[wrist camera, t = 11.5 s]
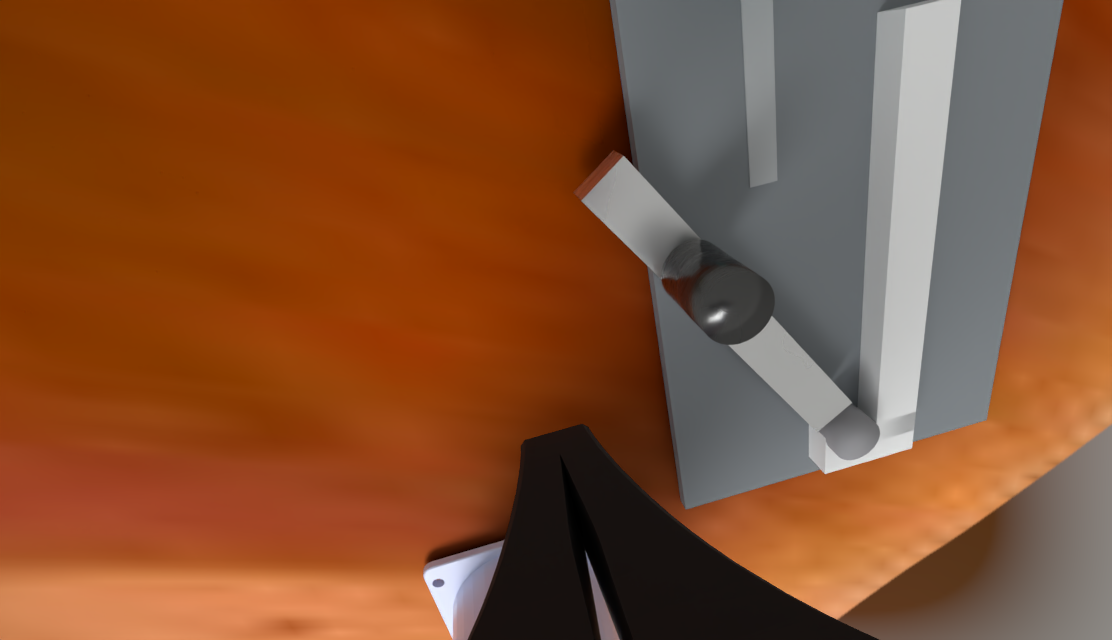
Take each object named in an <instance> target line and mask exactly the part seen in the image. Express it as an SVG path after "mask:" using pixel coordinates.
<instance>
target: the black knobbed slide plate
mask: <svg viewBox="0 0 1112 640" xmlns="http://www.w3.org/2000/svg"><path fill="white" fill-rule="evenodd" d="M573 193H574V194H575V195H576V196H577V197H578V198H579V199H580V200H581V201H582V202H583V203H584V204H585V205H586V206H587V207H588V208H589V209H590V210H591V211H592V212H593V213H594V214H595V215H596V216H597V217H598V218H599V219H600V220H601V221H602V222H603V223H604V224H605V225H606V226H607V227H608V228H609V229H610V230H612V231H613V232H614V233H615V234H616V235H617V236H618V237H619V238H620V239H621V240H622V241H623V242H624V243H625V244H626V245H627V246H628V247H629V248H630V249H631V250H632V251H633V252H634V253H635V254H636V255H637V256H638V257H639V258H640V259H641V260H642V261H643V262H644V263H645V264H646V265H647V266H648V267H649V268H650V269H651V270H652V271H653V272H654V273H655V274H656V275H657V276H658V277H659V278H660V279H661V281H662V285H663V287H664V290H665V291H666V293H667V294H668V295H669V296H670V297H671V298H672V299H673V300H674V301H675V302H676V303H677V304H678V305H679V306H680V307H681V308H682V310H683V311H684V312H685V313H686V314H687V315H688V316H689V317H690V318H691V319H692V320H693V321H694V322H695V323H696V324H697V325H698V326H699V327H700V328H701V329H702V330H703V331H704V333H705V334H706V335H707V336H708V337H709V338H711V339H712V340H713V341H715V342H717V343H720V344H724V345H729V346H730V347H731V348H732V349H733V350H734V351H735V352H736V353H737V354H738V355H739V356H740V357H741V358H742V359H743V360H744V361H745V362H746V363H747V364H748V365H749V366H750V367H751V368H752V369H753V370H754V371H755V372H756V373H757V374H758V375H759V376H760V377H761V378H762V379H763V380H764V381H765V382H766V383H767V384H768V385H769V386H771V387H772V388H773V389H774V390H775V391H776V392H777V393H778V394H779V395H780V396H781V397H782V398H783V399H784V400H785V401H786V402H787V403H788V404H789V405H790V406H791V407H792V408H793V409H794V410H795V411H796V412H797V413H798V414H799V415H800V416H801V417H802V418H803V419H804V420H805V421H806V422H807V423H808V424H809V425H810V426H811V427H812V428H813V429H814V430H815V431H816V432H818V431H819V430H821V429H822V428H823V427H824V426H825V425H826V424H828V423H829V422H830V421H831V420H832V419H834V418H835V417H836V416H837V415H838V414H839V413H841V412H842V411H843V410H844V409H845V408H847V407H848V406H849V405H850V404H851V403H852V402H851V401H850V400H849V398H848V397H847V396H846V395H845V394H844V393H843V392H842V391H841V390H840V389H839V388H838V387H837V386H836V384H835V383H834V382H833V381H832V380H831V379H830V378H829V377H828V376H827V375H826V374H825V373H824V371H823V370H822V369H821V368H820V367H819V366H818V365H817V364H816V363H815V362H814V361H813V360H812V359H811V357H810V356H809V355H808V354H807V353H806V352H805V351H804V350H803V349H802V348H801V347H800V346H799V344H798V343H797V342H796V341H795V340H794V339H793V338H792V337H791V336H790V335H789V334H788V333H787V332H786V330H785V329H784V328H783V327H782V326H781V325H780V324H779V323H778V322H777V321H776V320H775V319H774V318H773V316H772V314H773V311H774V306H775V296H774V292H773V289H772V287H771V285H770V284H769V283H768V281H767V280H765V279H764V278H763V277H761V276H760V275H758V274H757V273H755V272H754V271H752V270H751V269H749V268H748V267H746V266H745V265H743V264H742V263H740V262H739V261H737V260H736V259H735V258H733V257H732V256H730V255H729V254H727V253H726V252H724V251H723V250H721V249H720V248H718V247H717V246H715V245H714V244H712V243H710V242H708V241H705V240H701V239H700V238H699V237H698V235H697V234H696V233H695V232H694V231H693V230H692V229H691V228H690V227H689V226H688V225H687V224H686V222H685V221H684V220H683V219H682V218H681V217H680V216H679V215H678V214H677V213H676V212H675V211H674V210H673V208H672V207H671V206H670V205H669V204H668V203H667V202H666V201H665V200H664V199H663V198H662V197H661V195H660V194H659V193H658V192H657V191H656V190H655V189H654V188H653V187H652V186H651V185H650V184H649V183H648V181H647V180H646V179H645V178H644V177H643V176H642V175H641V174H640V173H639V172H638V171H637V170H636V168H635V167H634V166H633V165H632V164H631V163H630V162H629V161H628V160H627V159H626V158H625V157H624V156H623V155H621V154H619V153H617V152H615V151H612V152H611V153H610V154H609V155H608V156H607V157H606V158H605V159H604V160H603V161H602V162H601V164H600V165H599V166H598V167H597V168H596V169H595V170H594V171H593V172H592V173H591V174H590V175H589V176H588V177H587V179H586V180H585V181H584V182H583V183H582V184H581V185H580V186H579V187H578V188H577V189H576V190H575V191H574V192H573Z"/></svg>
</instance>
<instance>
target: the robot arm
mask: <svg viewBox="0 0 1112 640" xmlns="http://www.w3.org/2000/svg"><path fill="white" fill-rule="evenodd" d="M423 576H424V579H425V581H426V584H427V586H428V588H429V590H430V592H431V594H432V596H433V598H434V601H435V603H436V605H437V607H438V609H439V611H440V613H441V615H442V618H443V620H444V622H445V624H446V626H447V628H448V630H449V632H450V635H451V637H452V639H453V640H879V639H877V638H874V637H872V636H870V635H868V634H866V633H863V632H861V631H859V630H857V629H854V628H853V627H851V626H848V625H847V624H844V623H842V622H840V621H838V620H836V619H834V618H832V617H830V616H828V615H826V614H824V613H822V612H820V611H819V610H817V609H815V608H813V607H811V606H809V605H807V604H806V603H804V602H802V601H800V600H798V599H796V598H794V597H792V596H791V595H789V594H787V593H785V592H784V591H782V590H780V589H779V588H777V587H775V586H774V585H772V584H770V583H769V582H767V581H765V580H764V579H762V578H760V577H759V576H757V575H755V574H754V573H752V572H750V571H749V570H747V569H745V568H744V567H742V566H740V565H739V564H737V563H736V562H734V561H733V560H731V559H730V558H728V557H727V556H725V555H724V554H722V553H721V552H720V551H718V550H717V549H715V548H714V547H712V546H711V545H709V544H708V543H707V542H705V541H704V540H703V539H701V538H700V537H699V536H697V535H696V534H694V533H693V532H692V531H690V530H689V529H688V528H687V527H685V526H684V525H683V524H682V523H680V522H679V521H678V520H677V519H675V518H674V517H673V516H672V515H671V514H669V513H668V512H667V511H666V510H665V509H664V508H662V507H661V506H660V505H659V504H658V503H657V502H656V501H654V500H653V499H652V498H651V497H650V496H649V495H648V494H647V493H646V492H645V491H644V490H642V489H641V488H640V487H639V486H638V485H637V484H636V483H635V482H634V481H633V480H632V479H631V478H630V477H629V476H628V475H627V474H626V473H625V472H624V471H623V470H622V469H621V467H620V466H619V465H618V464H617V463H616V462H615V461H614V460H613V459H612V458H611V456H610V455H609V454H608V453H607V452H606V451H605V449H604V448H603V447H602V446H601V445H600V443H599V442H598V441H597V439H596V438H595V437H594V435H593V434H592V432H591V431H590V429H589V427H587V426H585V425H583V424H580V425H576V426H573V427H569V428H566V429H562V430H559V431H555V432H552V433H548V434H545V435H541V436H538V437H534V438H531V439H527V440H525V441H524V442H523V444H522V445H521V461H520V470H519V478H518V484H517V490H516V495H515V499H514V504H513V508H512V513H511V518H510V522H509V526H508V529H507V533H506V536H505V540H503V541H499V542H496V543H492V544H489V545H486V546H482V547H479V548H475V549H472V550H469V551H465V552H462V553H459V554H455V555H452V556H448V557H445V558H442V559H438V560H435V561H432V562H429V563H428V564H427V565H425V567H424V573H423ZM436 579H441V580H436Z"/></svg>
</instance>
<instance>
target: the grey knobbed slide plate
mask: <svg viewBox="0 0 1112 640" xmlns="http://www.w3.org/2000/svg"><path fill="white" fill-rule="evenodd" d="M1062 5H1063V0H610V6H611V13H612V20H613V27H614V34H615V41H616V49H617V56H618V63H619V70H620V77H621V84H622V91H623V98H624V105H625V112H626V119H627V126H628V133H629V140H630V147H631V154H632V161H633V166H634V167H635V168H636V170H637V171H638V172H639V173H640V174H641V175H642V176H643V177H644V178H645V179H646V180H647V181H648V183H649V184H650V185H651V186H652V187H653V188H654V189H655V190H656V191H657V192H658V193H659V194H660V195H661V197H662V198H663V199H664V200H665V201H666V202H667V203H668V204H669V205H670V206H671V207H672V208H673V210H674V211H675V212H676V213H677V214H678V215H679V216H680V217H681V218H682V219H683V220H684V221H685V222H686V224H687V225H688V226H689V227H690V228H691V229H692V230H693V231H694V232H695V233H696V234H697V235H698V237H699V238H700V239H701V240H705V241H708V242H710V243H712V244H714V245H715V246H717V247H718V248H720V249H721V250H723V251H724V252H726V253H727V254H729V255H730V256H732V257H733V258H735V259H736V260H737V261H739V262H740V263H742V264H743V265H745V266H746V267H748V268H749V269H751V270H752V271H754V272H755V273H757V274H758V275H760V276H761V277H763V278H764V279H765V280H767V281H768V283H769V284H770V285H771V287H772V289H773V292H774V296H775V306H774V311H773V314H772V316H773V318H774V319H775V320H776V321H777V322H778V323H779V324H780V325H781V326H782V327H783V328H784V329H785V330H786V332H787V333H788V334H789V335H790V336H791V337H792V338H793V339H794V340H795V341H796V342H797V343H798V344H799V346H800V347H801V348H802V349H803V350H804V351H805V352H806V353H807V354H808V355H809V356H810V357H811V359H812V360H813V361H814V362H815V363H816V364H817V365H818V366H819V367H820V368H821V369H822V370H823V371H824V373H825V374H826V375H827V376H828V377H829V378H830V379H831V380H832V381H833V382H834V383H835V384H836V386H837V387H838V388H839V389H840V390H841V391H842V392H843V393H844V394H845V395H846V396H847V397H848V398H849V400H850V401H851V402H852V403H851V404H850V405H849V406H848V407H847V408H845V409H844V410H843V411H842V412H841V413H839V414H838V415H837V416H836V417H835V418H834V419H832V420H831V421H830V422H829V423H828V424H826V425H825V426H824V427H823V428H822V429H821V430H819V431H818V432H816V431H815V430H814V429H813V428H812V427H811V426H810V425H809V424H808V423H807V422H806V421H805V420H804V419H803V418H802V417H801V416H800V415H799V414H798V413H797V412H796V411H795V410H794V409H793V408H792V407H791V406H790V405H789V404H788V403H787V402H786V401H785V400H784V399H783V398H782V397H781V396H780V395H779V394H778V393H777V392H776V391H775V390H774V389H773V388H772V387H771V386H769V385H768V384H767V383H766V382H765V381H764V380H763V379H762V378H761V377H760V376H759V375H758V374H757V373H756V372H755V371H754V370H753V369H752V368H751V367H750V366H749V365H748V364H747V363H746V362H745V361H744V360H743V359H742V358H741V357H740V356H739V355H738V354H737V353H736V352H735V351H734V350H733V349H732V348H731V347H730V346H729V345H724V344H720V343H717V342H715V341H713V340H712V339H711V338H709V337H708V336H707V335H706V334H705V333H704V331H703V330H702V329H701V328H700V327H699V326H698V325H697V324H696V323H695V322H694V321H693V320H692V319H691V318H690V317H689V316H688V315H687V314H686V313H685V312H684V311H683V310H682V308H681V307H680V306H679V305H678V304H677V303H676V302H675V301H674V300H673V299H672V298H671V297H670V296H669V295H668V294H667V293H666V291H665V290H664V287H663V285H662V281H661V279H660V278H659V277H658V276H657V275H656V274H655V273H654V272H653V271H652V270H651V269H650V268H649V267H648V274H649V281H650V288H651V295H652V302H653V309H654V316H655V323H656V330H657V337H658V344H659V351H660V358H661V365H662V372H663V379H664V386H665V393H666V400H667V407H668V414H669V421H670V428H671V435H672V442H673V449H674V456H675V463H676V470H677V477H678V484H679V491H680V499H681V502H682V504H683V505H684V507H685V509H689V508H693V507H696V506H699V505H703V504H706V503H709V502H713V501H716V500H720V499H723V498H726V497H730V496H733V495H736V494H740V493H743V492H746V491H750V490H753V489H756V488H760V487H763V486H767V485H770V484H773V483H777V482H780V481H783V480H787V479H790V478H793V477H797V476H800V475H803V474H807V473H810V472H814V471H817V470H820V469H821V470H822V471H823V472H824V473H825V474H827V473H830V472H834V471H837V470H840V469H844V468H847V467H850V466H854V465H857V464H860V463H864V462H867V461H870V460H874V459H877V458H880V457H884V456H887V455H890V454H894V453H897V452H901V451H904V450H907V449H911V448H912V443H913V442H914V441H918V440H921V439H924V438H928V437H931V436H934V435H938V434H941V433H945V432H948V431H951V430H955V429H958V428H961V427H965V426H968V425H971V424H975V423H978V422H981V421H985V420H986V419H987V414H988V409H989V403H990V398H991V392H992V387H993V381H994V376H995V370H996V365H997V359H998V354H999V349H1000V343H1001V338H1002V332H1003V327H1004V321H1005V316H1006V310H1007V305H1008V299H1009V294H1010V289H1011V283H1012V278H1013V272H1014V267H1015V261H1016V256H1017V250H1018V245H1019V240H1020V234H1021V229H1022V223H1023V218H1024V212H1025V207H1026V201H1027V196H1028V190H1029V185H1030V180H1031V174H1032V169H1033V163H1034V158H1035V152H1036V147H1037V141H1038V136H1039V130H1040V125H1041V120H1042V114H1043V109H1044V103H1045V98H1046V92H1047V87H1048V81H1049V76H1050V70H1051V65H1052V60H1053V54H1054V49H1055V43H1056V38H1057V32H1058V27H1059V21H1060V16H1061V10H1062Z"/></svg>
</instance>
